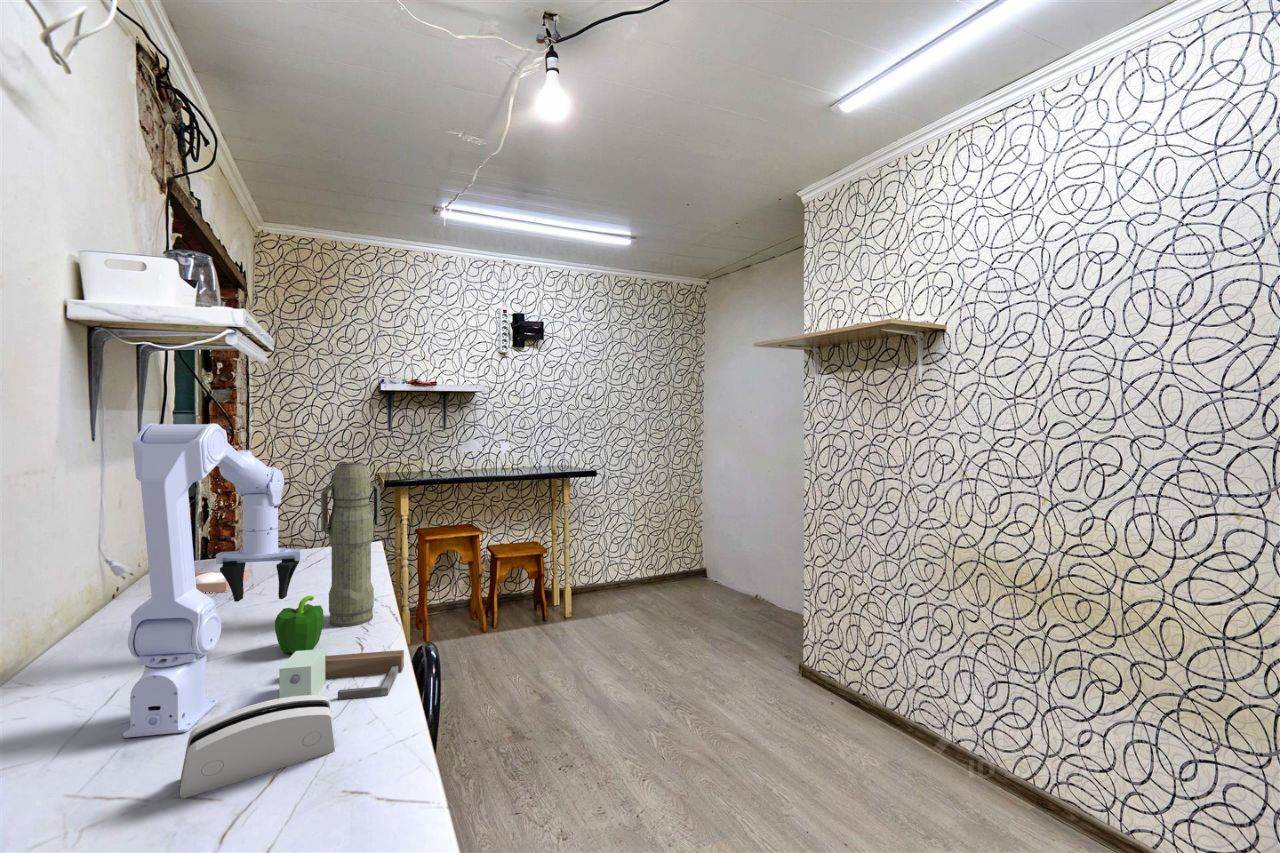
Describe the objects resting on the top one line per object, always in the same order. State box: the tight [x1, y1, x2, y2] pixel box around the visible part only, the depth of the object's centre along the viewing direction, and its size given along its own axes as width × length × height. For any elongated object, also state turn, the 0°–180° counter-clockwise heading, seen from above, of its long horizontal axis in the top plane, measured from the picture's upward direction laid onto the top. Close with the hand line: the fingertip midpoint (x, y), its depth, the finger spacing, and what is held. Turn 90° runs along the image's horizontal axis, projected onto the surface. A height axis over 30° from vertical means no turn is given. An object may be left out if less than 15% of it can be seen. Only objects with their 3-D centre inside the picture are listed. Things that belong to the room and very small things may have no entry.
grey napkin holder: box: [179, 694, 336, 799], centre depth 74 cm, size 17×5×10 cm, turn 128°
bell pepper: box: [274, 595, 324, 655], centre depth 112 cm, size 8×8×10 cm
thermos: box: [320, 461, 381, 628], centre depth 129 cm, size 9×12×35 cm
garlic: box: [195, 571, 226, 583], centre depth 154 cm, size 8×7×4 cm
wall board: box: [325, 649, 405, 701], centre depth 98 cm, size 11×18×3 cm, turn 102°
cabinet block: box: [278, 648, 326, 699], centre depth 94 cm, size 8×4×6 cm, turn 12°
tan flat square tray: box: [195, 569, 250, 593], centre depth 154 cm, size 13×14×2 cm
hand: (260, 598), depth 112 cm, fingers open, 7 cm apart
